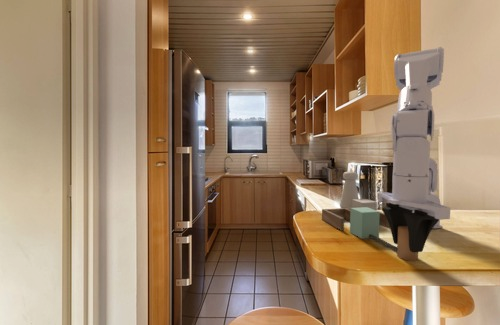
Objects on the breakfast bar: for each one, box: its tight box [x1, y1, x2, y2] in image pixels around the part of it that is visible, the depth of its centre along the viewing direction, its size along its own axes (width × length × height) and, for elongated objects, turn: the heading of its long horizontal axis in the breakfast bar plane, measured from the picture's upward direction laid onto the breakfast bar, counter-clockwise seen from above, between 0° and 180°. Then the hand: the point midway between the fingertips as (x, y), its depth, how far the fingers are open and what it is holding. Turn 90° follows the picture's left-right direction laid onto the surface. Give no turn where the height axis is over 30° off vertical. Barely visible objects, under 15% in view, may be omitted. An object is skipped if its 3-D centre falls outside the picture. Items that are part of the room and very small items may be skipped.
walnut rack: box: [321, 207, 390, 231], centre depth 72 cm, size 14×10×3 cm
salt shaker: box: [339, 171, 360, 208], centre depth 82 cm, size 6×6×13 cm
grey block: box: [352, 198, 378, 211], centre depth 73 cm, size 4×4×6 cm
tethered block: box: [349, 207, 419, 262], centre depth 56 cm, size 4×17×6 cm, turn 12°
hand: (407, 247), depth 50 cm, fingers closed on tethered block, 3 cm apart
